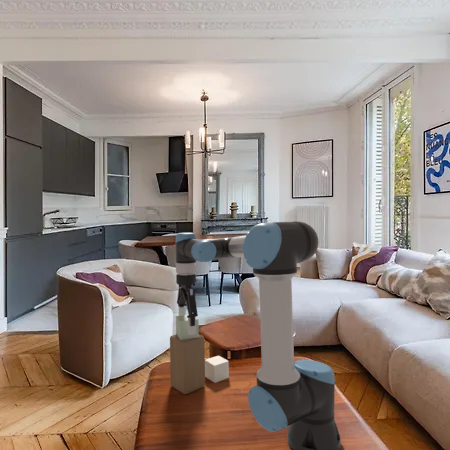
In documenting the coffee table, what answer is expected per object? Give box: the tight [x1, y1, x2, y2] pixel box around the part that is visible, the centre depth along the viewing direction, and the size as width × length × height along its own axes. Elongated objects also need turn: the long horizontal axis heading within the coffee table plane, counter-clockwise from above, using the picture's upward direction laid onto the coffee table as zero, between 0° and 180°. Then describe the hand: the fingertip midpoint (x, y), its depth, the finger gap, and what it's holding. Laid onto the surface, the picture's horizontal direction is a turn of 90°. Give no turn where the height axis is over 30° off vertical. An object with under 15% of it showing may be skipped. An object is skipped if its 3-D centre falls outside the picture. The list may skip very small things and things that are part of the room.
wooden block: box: [169, 333, 206, 395], centre depth 138 cm, size 10×10×20 cm
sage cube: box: [175, 314, 200, 340], centre depth 138 cm, size 7×7×7 cm
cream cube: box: [205, 355, 230, 384], centre depth 146 cm, size 7×7×7 cm
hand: (186, 328), depth 138 cm, fingers open, 13 cm apart
